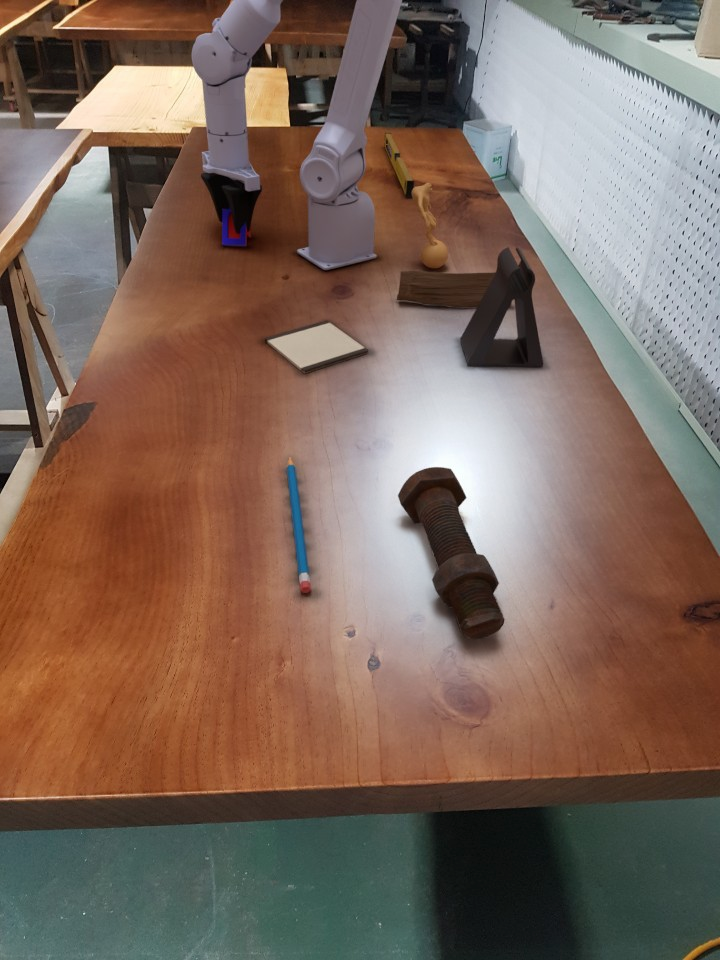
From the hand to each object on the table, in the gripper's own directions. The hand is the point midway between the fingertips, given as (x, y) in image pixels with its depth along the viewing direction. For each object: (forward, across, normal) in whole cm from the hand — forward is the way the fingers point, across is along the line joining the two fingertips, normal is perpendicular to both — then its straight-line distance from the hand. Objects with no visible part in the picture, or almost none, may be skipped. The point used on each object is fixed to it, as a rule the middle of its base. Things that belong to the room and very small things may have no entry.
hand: (234, 226), depth 110 cm
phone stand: (+2, +49, +10) cm, 50 cm away
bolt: (+2, +73, -19) cm, 75 cm away
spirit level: (+2, -16, +45) cm, 48 cm away
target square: (+2, +36, -8) cm, 37 cm away
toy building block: (+2, +1, 0) cm, 2 cm away
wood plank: (+2, +36, +14) cm, 39 cm away
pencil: (+2, +61, -26) cm, 66 cm away
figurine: (+2, +24, +19) cm, 31 cm away
